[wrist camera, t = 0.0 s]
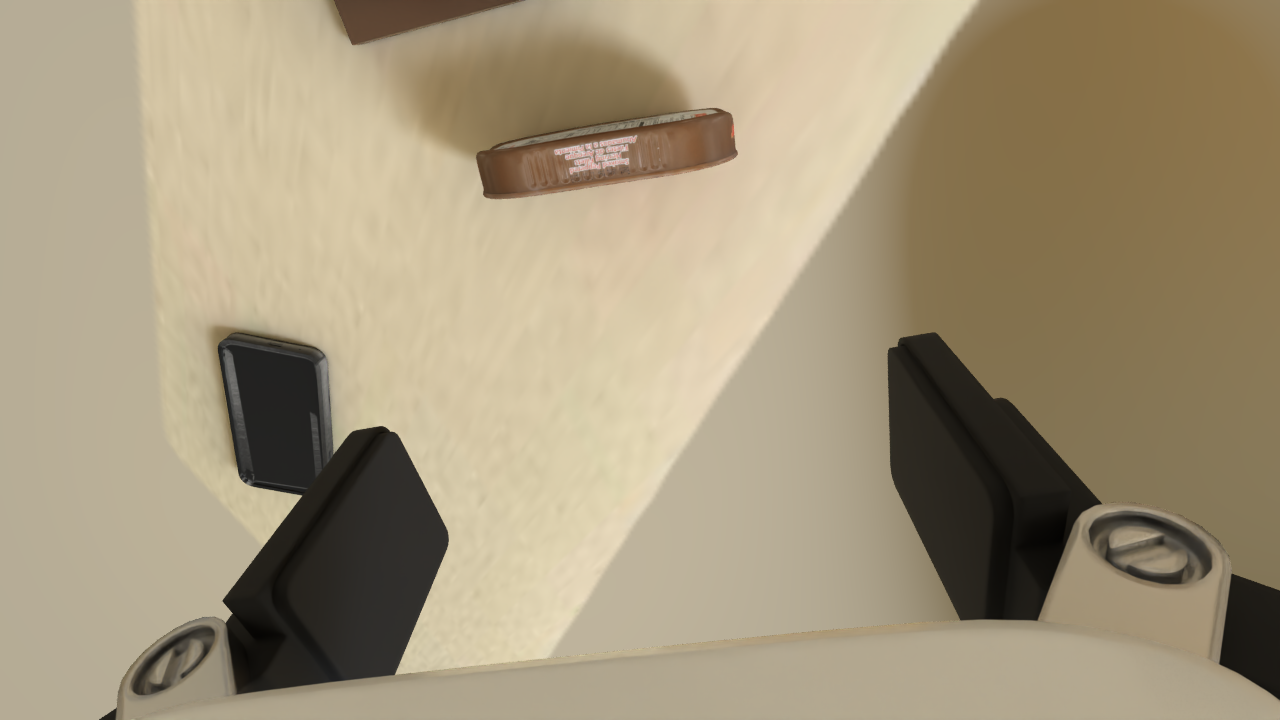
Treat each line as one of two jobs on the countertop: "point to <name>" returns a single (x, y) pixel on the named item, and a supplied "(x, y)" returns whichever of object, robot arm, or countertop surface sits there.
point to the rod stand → (404, 15)
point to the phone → (277, 411)
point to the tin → (608, 154)
